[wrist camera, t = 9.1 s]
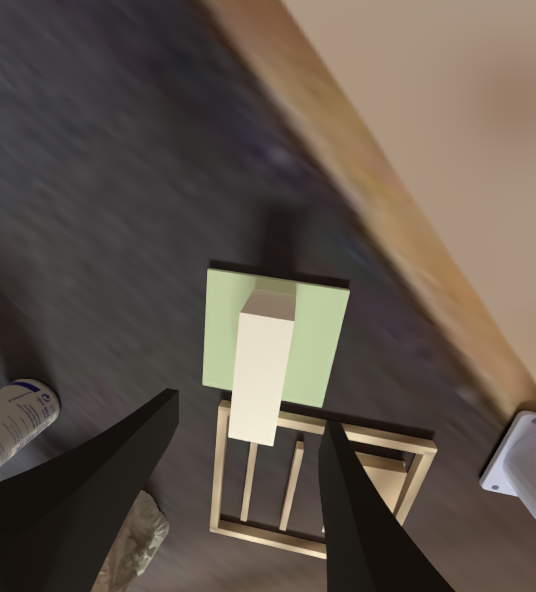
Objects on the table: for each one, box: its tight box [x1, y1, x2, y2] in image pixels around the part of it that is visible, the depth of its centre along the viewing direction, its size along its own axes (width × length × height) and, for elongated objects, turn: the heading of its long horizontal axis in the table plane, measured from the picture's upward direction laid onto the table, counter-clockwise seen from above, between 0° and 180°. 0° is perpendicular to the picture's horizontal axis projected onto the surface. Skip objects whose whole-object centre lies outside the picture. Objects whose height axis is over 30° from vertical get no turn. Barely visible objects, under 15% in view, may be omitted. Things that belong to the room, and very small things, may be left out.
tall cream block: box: [228, 289, 296, 446], centre depth 17 cm, size 3×9×4 cm, turn 173°
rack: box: [210, 400, 437, 559], centre depth 24 cm, size 18×17×1 cm
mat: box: [203, 268, 350, 408], centre depth 19 cm, size 10×10×1 cm
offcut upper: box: [356, 454, 407, 513], centre depth 23 cm, size 5×10×1 cm, turn 176°
